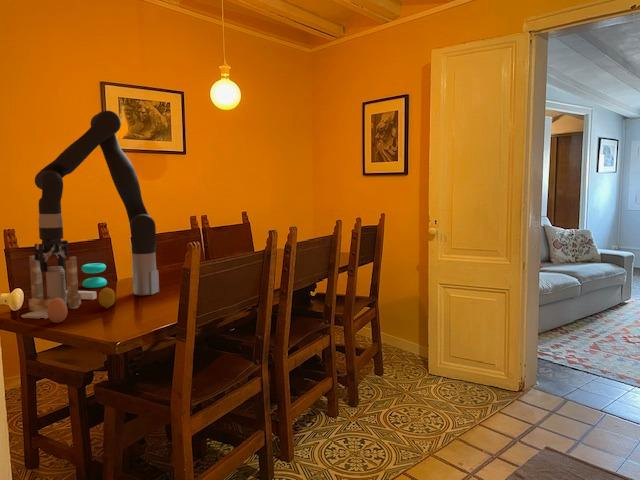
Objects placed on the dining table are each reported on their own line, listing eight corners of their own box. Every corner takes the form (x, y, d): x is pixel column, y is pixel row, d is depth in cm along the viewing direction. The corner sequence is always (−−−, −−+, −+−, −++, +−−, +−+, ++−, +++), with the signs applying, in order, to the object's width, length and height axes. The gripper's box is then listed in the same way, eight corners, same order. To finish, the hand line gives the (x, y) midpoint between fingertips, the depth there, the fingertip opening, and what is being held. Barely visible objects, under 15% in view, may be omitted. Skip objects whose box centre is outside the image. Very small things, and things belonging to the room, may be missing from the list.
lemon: (119, 307, 167) (118, 286, 166) (107, 310, 162) (106, 289, 161) (107, 305, 169) (106, 284, 168) (95, 309, 163) (94, 288, 163)
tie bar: (96, 298, 181) (96, 291, 181) (92, 300, 179) (92, 292, 178) (64, 297, 183) (64, 290, 183) (60, 298, 181) (59, 291, 180)
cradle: (87, 304, 171) (84, 254, 169) (66, 312, 160) (62, 259, 158) (46, 302, 174) (43, 253, 172) (23, 310, 162) (19, 258, 160)
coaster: (64, 311, 160) (63, 309, 160) (45, 318, 152) (45, 316, 151) (41, 310, 162) (41, 308, 162) (21, 317, 153) (21, 315, 153)
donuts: (76, 266, 198) (90, 262, 208) (77, 288, 199) (91, 283, 209) (97, 266, 197) (110, 262, 207) (98, 288, 198) (111, 284, 208)
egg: (61, 319, 151) (60, 294, 150) (71, 321, 148) (70, 297, 147) (44, 323, 146) (42, 298, 145) (54, 326, 143) (52, 300, 142)
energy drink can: (50, 305, 169) (47, 266, 167) (68, 304, 171) (65, 265, 169) (46, 309, 163) (43, 268, 162) (65, 308, 165) (62, 267, 164)
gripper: (45, 227, 156) (48, 273, 158) (73, 225, 170) (75, 267, 172) (26, 227, 157) (28, 273, 159) (55, 224, 171) (57, 266, 173)
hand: (53, 270), depth 165 cm, fingers open, 8 cm apart
